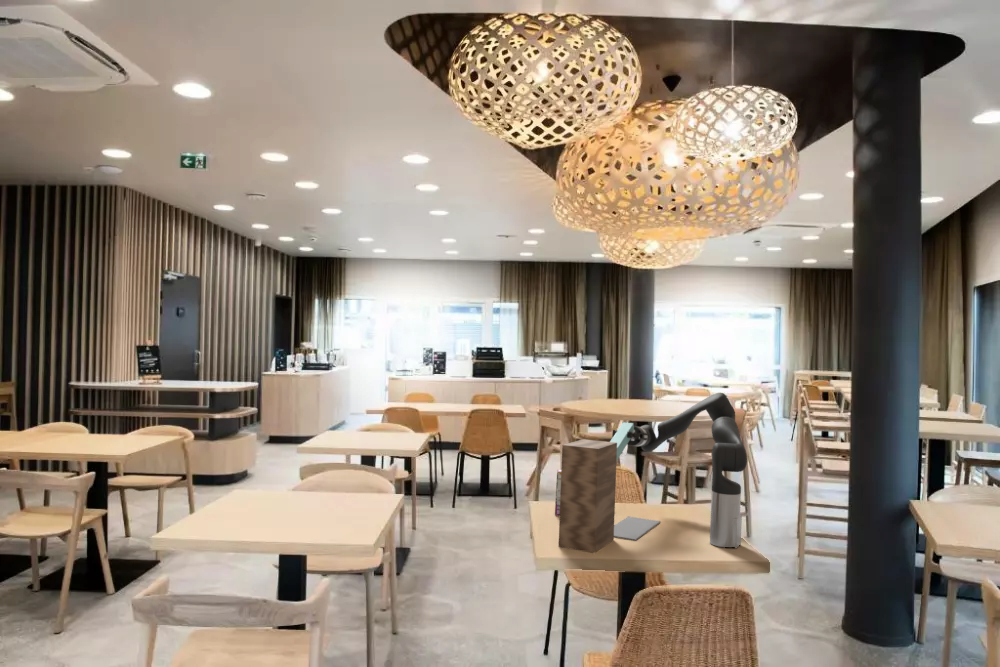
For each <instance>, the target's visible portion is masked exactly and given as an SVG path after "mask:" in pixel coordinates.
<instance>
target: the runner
mask: <svg viewBox="0 0 1000 667" xmlns="http://www.w3.org/2000/svg"><path fill="white" fill-rule="evenodd" d="M660 523H661V521H660V520H655V519H649V518H641V517H635V516H627V517H625V518H623V519H622V520H620V521H619V522H617V523H615V524H614V538H617V539H623V540H629V541H634V542H637V541H638V540H639V539H640V538H641V537H643V536H644V535H645V534H647V533H648V532H649V531H651V530H652V529H654V528H655V527H657V526H658V525H659V524H660Z"/></svg>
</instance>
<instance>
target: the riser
mask: <svg viewBox="0 0 1000 667" xmlns="http://www.w3.org/2000/svg"><path fill="white" fill-rule="evenodd" d="M561 448H562V449H561V469H560V470H561V495H560V515H559V524H558V525H559V527H558V547H560V548H566V549H571V550H575V551H582V552H586V553H587V552H588V553H596V552H598V551H599V550H601V549H602V548H604V547H606V546H607V545H608V544H610V543H611V542H612V541H614V538H615V537H614V525H615V515H616V514H615V509H616V507H615V506H616V487H617V486H616V484H617V483H616V482H617V480H616V479H617V461H618V460H617V443H614V442H610V441H603V440H596V439H595V440H594V439H593V440H592V439H583V438H582V439H579V440H576V441H572V442H569V443H564V444H562V446H561Z"/></svg>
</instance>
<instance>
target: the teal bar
mask: <svg viewBox="0 0 1000 667" xmlns="http://www.w3.org/2000/svg"><path fill="white" fill-rule="evenodd" d="M634 426H635V425H634V422H622V423H621V425H620V426H619V428H618V429H617V430H618V431H617V432H616V433H615V435H614V436H613V437H612V438H611V439H610V441H609V442H614V443H617V461H618V460H619V458H620V456H621V455H622V453H623V451H624V450H625V448H626V447H627V445H628V442H629V441H630V439H631V438H627V432H632V431H634Z"/></svg>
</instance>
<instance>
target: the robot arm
mask: <svg viewBox="0 0 1000 667" xmlns="http://www.w3.org/2000/svg"><path fill="white" fill-rule="evenodd" d="M704 411H706V412H707V414H708V416H709V418H710V419H711V420H712V424H711V435H712V439H713V441H714V444H713V446H712V449H711V450H712V451H711V468H712V470H711V472H712V473H711V475H712V476H711V496H710V497H711V499H710V522H709V523H710V525H709V526H710V527H709V530H710V531H709V544H711V545H713V546H715V547H719V548H725V547H735V548H734V549H737V548H738V547H740V546H741V544H742V543H741V542H742V522H743V521H742V519H743V518H742V515H741V500H742V497H741V496H742V486H741V484H740V483H738V482H736V481H733V480H731V479H729V478H727V477H726V476H725V475H724V474H723V472H729V473H730V472H732V473H740V472H741V473H742V472H743V471H744V470H745V469H746V468H747V465H748V455H747V451H746V447H745V445H744V443H743V440H741V435H740V431H739V430H740V429H739V426H738V424H737V421H736V410H735V409H734V406H733V405H732V403H731V401H730V400H729V398H728V397H727V395H726V393H724V392H717V393H713V394H711V395H709V396H707V397H706V398H704V399H702V400H700V401H699V402H698V403H696V404H694V405H692V406H691V407H689V408H687V409H685V410H684V411H682V412H681V413H679V414H677V415H675V416H673V417H671V418H668V419H666V420H663V421H661V422H660V423H658V425H657V436H656V433H655V430H654V429H653V427H652V426H651V425H650V424H644V425H641V426H638V425H637V426H636V425H634V431H632V432H627V438H631V439H630V441H629V442H628V444H627V445H629V446H631V447H641V450H643V452H645V453H650V452H653V451H654V450H656V449H657V448H659V446H661V445H662V444H663V443H665V442H666V441H668V440H670V439H671V438H674V437H676V436H679V435H681V434H683V433H684V432H685V431H686V430H687V429H688V428H689V427H690V426H691V424H692V422H693V420H694V419H695V418H696V417H698V415H699V414H700V413H702V412H704ZM617 431H618V429H617V430H616V429H612V432H611V433H612V435H611V437H612V438H613V436H614V435H615V433H616V432H617ZM739 545H740V546H739ZM736 547H737V548H736Z"/></svg>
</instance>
